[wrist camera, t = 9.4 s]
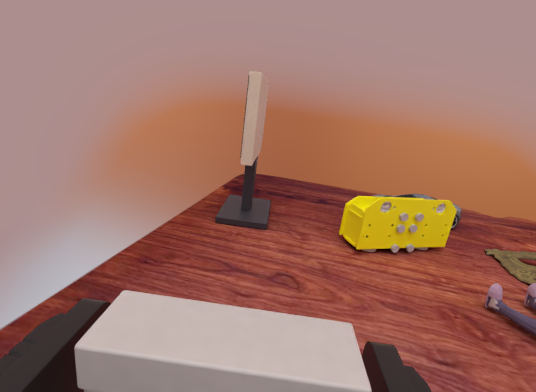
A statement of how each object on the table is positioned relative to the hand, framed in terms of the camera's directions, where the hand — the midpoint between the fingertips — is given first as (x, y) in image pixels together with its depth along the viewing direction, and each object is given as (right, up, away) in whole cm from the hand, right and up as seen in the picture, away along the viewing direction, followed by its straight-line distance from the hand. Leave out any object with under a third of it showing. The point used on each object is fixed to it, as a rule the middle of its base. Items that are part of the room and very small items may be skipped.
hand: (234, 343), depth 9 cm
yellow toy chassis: (+20, -3, +37) cm, 42 cm away
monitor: (-3, +2, +42) cm, 42 cm away
